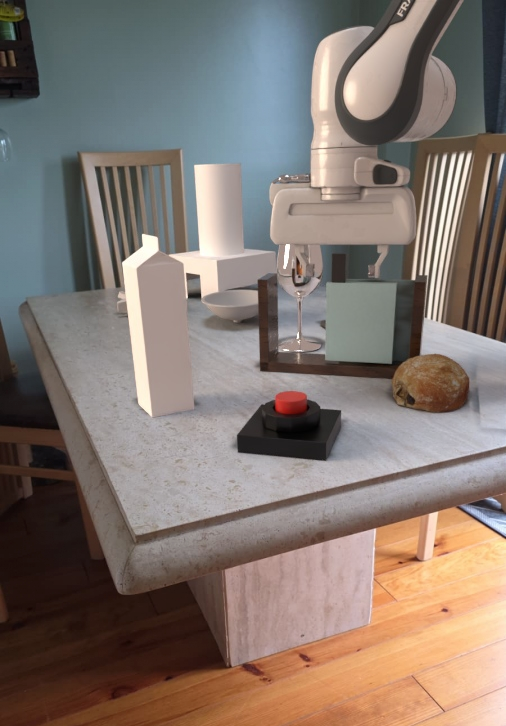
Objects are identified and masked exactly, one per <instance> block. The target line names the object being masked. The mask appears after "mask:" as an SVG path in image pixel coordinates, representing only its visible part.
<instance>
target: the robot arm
mask: <svg viewBox="0 0 506 726" xmlns="http://www.w3.org/2000/svg"><path fill="white" fill-rule="evenodd" d="M464 1H465V0H391V1H390V3H389V5H388V7H386V10H385V11H384V13H383V15H382V17H381V18H380V20H379V21H378V22H377V24H375V25H376V26H374V27H373V26H371V25H366V24H358V25H353V26H348V27H343V28H340V29H337V30H334V31H332V32H331V33H329V34H327V35H326V36H325V37H324V38H323V39H322V40H321V41H320V42H319V43H318V45H317V47H316V51H315V54H314V58H313V63H312V73H311V87H310V88H311V90H310V114H311V115H310V116H311V119H312V124H313V134H312V140H311V143H310V173H298V174H280V175H279V177H277V178H275V179H274V180H272V182H271V183H270V186H269V188H268V189H269V190H268V191H269V192H268V193H269V204H270V206H271V207H272V208H271V216H270V225H269V226H270V228H269V229H270V230H269V235H270V236H269V237H270V239H271V241H272V242H273V244H274V245H276V246H279V245H295V254H296V256H297V258H298V259H299V261H300V263H301V265H303V277H314V275H315V271H314V269H315V264H309V261H308V259H307V258H306V256H305V254H304V252H306V251H307V245H320V246H331V245H332V246H367V245H368V246H377V254H380V255H379V257H378V259H377V260H376V262H375V263H369V264H368V267H367V268H368V269H367V270H368V273H367V279H379V278H380V276H381V265H382V263H383V262H384V260H385V259H386V257H387V255H388V254H389V252H390V246H395V245H396V246H401V245H403V246H405V245H407V246H408V245H410V244H411V243H412V242H413V241H414V240H415V239H416V236H417V209H416V208H417V207H416V200H415V196H414V193H413V191H412V190H411V188H409V187H408V186H406V185H407V184H408V183H409V182H410V179H411V170H410V169H409V168H408V167H406V166H404V165H400V164H398V163H394V162H392V161H391V160H389V159H380V158H379V156H378V147H379V146H381V145H385V144H386V145H387V144H390V143H410V142H411V143H412V142H413V143H414V142H418V141H422V140H426V139H427V138H430V137H432V136H434V135H436V134H437V133H438V132H440V131H441V130H442V129H443V128H444V127H445V126H446V124H447V123H448V122H449V120H450V119H451V116H452V115H453V112H454V110H455V108H456V103H457V96H458V92H457V91H458V87H457V81H456V78H455V75H454V73H453V71H452V70H451V68H450V66H449V65H448V64H446V63H445V62H444V61H443V60H441V59H440V58H438V57H436V56H435V55H433V53H434V51H435V49H436V47H437V46H438V45H439V42H440V41H441V39H442V38H443V36H444V34H445V32H446V31H447V29H448V27H449V26H450V24H451V22H452V21H453V19H454V18H455V15H456V14H457V12H458V11H459V9H460V7H461V6H462V5H463V4H462V3H464ZM278 182H279V183H278Z"/></svg>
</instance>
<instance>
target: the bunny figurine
mask: <svg viewBox="0 0 506 726" xmlns="http://www.w3.org/2000/svg"><path fill="white" fill-rule="evenodd" d="M117 298H118V299H119V300H118V301H116V307H117V312H118V313H120V314H121V313H122V314H128V310H127V301H126V292H125V290H120V291H118V294H117Z"/></svg>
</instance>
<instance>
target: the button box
mask: <svg viewBox="0 0 506 726" xmlns="http://www.w3.org/2000/svg"><path fill="white" fill-rule="evenodd" d="M341 428H342V409H333V408H332V409H331V408H321V405H319V403H318V402H317V401H314V400H311V399H308V398H307V411H305V412H303V413H298V414H282V413H279V412H276V411H275V399H273V400H270V401H267V402H265V404H261V405H260V406H259V407H258V408H257V409H256V410H255V412H254V413H253V414H252V416H251V417H250V418H249V419H248V420H247V422H246V423H245V424H244V425H243V427H242V428H241V429H240V431H238V433H237V434H236V445H237V446H236V447H237V453H238V454H250V455H259V456H269V457H279V458H280V457H281V458H290V459H299V460H300V459H301V460H310V461H311V460H312V461H321V462H326V461H327V460H328V458H329V455H330V453H331V450H332V448H333V446H334V443H335V442H336V439H337V436H338V434H339V432H340V430H341Z"/></svg>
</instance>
